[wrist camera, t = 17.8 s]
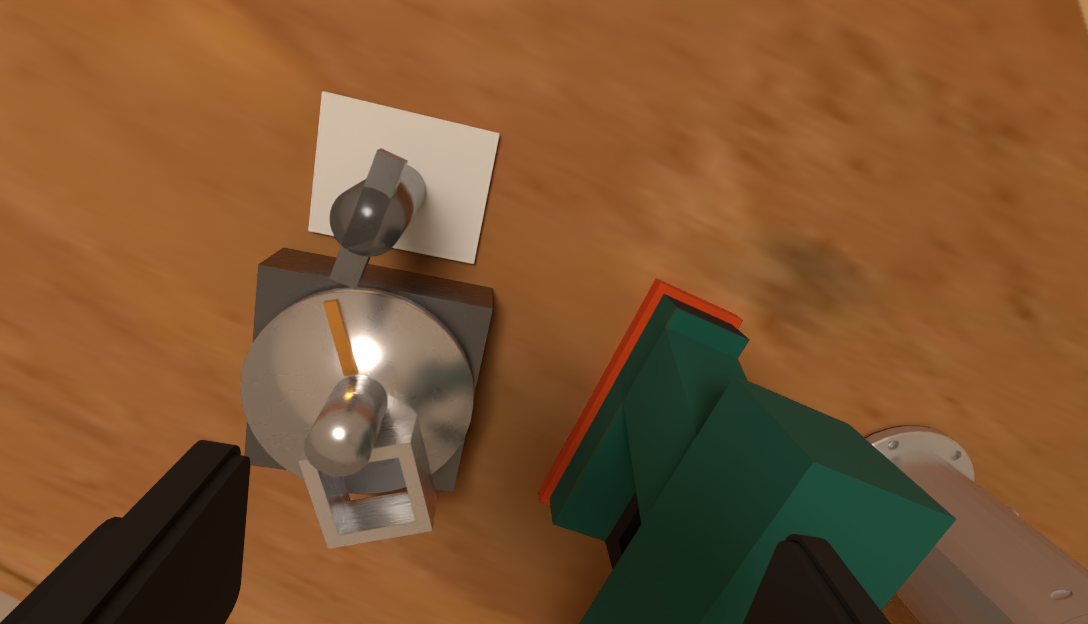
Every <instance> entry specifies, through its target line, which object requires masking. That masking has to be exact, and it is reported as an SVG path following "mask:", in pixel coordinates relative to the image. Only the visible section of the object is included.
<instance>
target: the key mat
mask: <svg viewBox="0 0 1088 624" xmlns="http://www.w3.org/2000/svg"><path fill="white" fill-rule="evenodd" d="M499 134H500V133H496V132H492V131H488V130H484V129H480V128H476V127H471V126H467V125H463V124H459V123H455V122H450V121H446V120H442V119H438V118H434V117H430V116H425V115H421V114H417V113H413V112H409V111H405V110H400V109H396V108H392V107H388V106H384V105H379V104H375V103H371V102H367V101H363V100H359V99H354V98H350V97H346V96H342V95H338V94H334V93H329V92H325V91H322V98H321V108H320V118H319V128H318V139H317V149H316V159H315V169H314V179H313V189H312V199H311V209H310V219H309V229H308V231H311V232H316V233H321V234H326V235H331V236H334V235H333V232H332V230H331V227H330V211H331V207H332V205H333V203H334V201H335V200H336V199H337V197H338V196H339V195H340V194H342V193H343V192H345V191H346V190H348V189H350V188H351V187H353V186H355V185H356V184H358V183H360V182H361V181H363V180H365V179H366V178H367V176H368V173H369V170H370V168H371V165H372V162H373V160H374V157H375V154H376V152H377V150H378V149H381V148H382V149H384V150H386V151H389V152H391V153H393V154H395V155H397V156H399V157H402V158H404V159H406V160H408V163H407V165H409V166H411V167H413V168H414V169H416V170H417V171H418V172H419V173H420V175H421V176H422V178H423V180H424V182H425V185H426V197H425V200H424V202H423V204H422V205H421V207H420V208H419V210H418V211H417V213H416V214H415V216H414V217H413V219H412V220H411V222H410V223H409V225H408V226H407V228H406V229H405V231H404V232H403V234H402V235H401V237H400V238H399V240H398V241H397V243H396V244H395V245H394V246H393V247H392V248H396V249H401V250H406V251H411V252H416V253H421V254H426V255H431V256H436V257H441V258H446V259H451V260H456V261H461V262H466V263H471V264H474V260H475V255H476V250H477V245H478V240H479V235H480V230H481V225H482V220H483V215H484V210H485V205H486V200H487V195H488V190H489V185H490V180H491V175H492V170H493V165H494V159H495V154H496V149H497V144H498V139H499Z"/></svg>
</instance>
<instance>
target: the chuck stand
mask: <svg viewBox="0 0 1088 624" xmlns="http://www.w3.org/2000/svg"><path fill="white" fill-rule="evenodd" d="M336 259H337V258H335V257H329V256H324V255H319V254H314V253H309V252H304V251H298V250H293V249H288V248H282V249H281V250H279V251H278V252H276V253H275V254H273V255H272V256H270V257H269V258H267V259H266V260H264V261H263V262H261V263H260V264H258V276H257V290H256V304H255V318H254V332H253V342H254V340H255V339H256V338H257V336H258V335H259V334H260V332H261V331H262V330H263V329H264V328H265V327H266V326H267V325H268V324H269V323H270V322H271V321H272V320H273V319H274V318H275V317H276V316H277V315H278V314H279V313H280V312H282V311H283V310H284V309H286V308H287V307H289V306H290V305H291V304H293V303H295V302H297V301H299V300H301V299H303V298H305V297H307V296H310V295H313V294H315V293H318V292H322V291H327V290H331V289H337V288H348V287H349V286H347V285H344V284H342V283H339V282H337V281H334V280H332V279H329V277H330V275H331V272H332V269H333V267H334V264H335V261H336ZM357 288H370V289H377V290H383V291H386V292H390V293H393V294H397V295H399V296H402V297H404V298H407V299H409V300H411V301H413V302H415V303H417V304H418V305H420V306H422V307H424V308H425V309H427V310H428V311H429V312H431V313H432V314H433V315H435V316H436V317H437V318H438V319H439V320H440V321H442V322H443V323H444V324H445V325H446V326H447V327H448V329H449V330H450V331H451V332H452V333H453V335H454V336H455V337H456V339H457V340H458V342H459V344H460V345H461V347H462V348H463V350H464V353H465V355H466V357H467V359H468V362H469V365H470V369H471V373H472V378H473V386H474V391H473V399H474V394H475V390H476V385H477V380H478V376H479V371H480V366H481V362H482V357H483V352H484V348H485V343H486V338H487V334H488V329H489V324H490V320H491V315H492V310H493V288H489V287H484V286H479V285H474V284H468V283H463V282H458V281H453V280H448V279H443V278H438V277H432V276H427V275H422V274H417V273H412V272H407V271H402V270H396V269H391V268H386V267H381V266H376V265H371V264H368V265H367V267H366V270H365V272H364V275H363V278H362V280H361V283H360V284H359V285H358V287H357ZM465 436H466V435H465ZM464 441H465V437H464V439H463V441H462V443H461V444H460V446H459V447H458V449H457V450H456V451H455V453H454V454H453V455H452V456H451V458H450V459H449V460H448V461H447V462H446V463H445V464H444V465H443V466H441V467H440V468H439V469H438V470H437V471H435V472H434V473H432V478H433V482H434V486H435V490H440V491H448V492H454V487H455V483H456V478H457V473H458V469H459V464H460V459H461V455H462V450H463V445H464ZM245 456H248V457H249V458H250V465H253V466H261V467H268V468H276V469H283V470H287V469H285V468H284V467H283V466H281V465H280V464H279V463H278V462H276V461H275V460H274V459H273V458H272V457H271V456H270V455H269V454H268V453H267V452H266V450H265V449H264V448H263V447H262V446H261V444H260V443H259V442H258V440H257V438H256V437H255V435H254V434H253V432H252V430H251V428H250V426H249V424H248V421H247V429H246V443H245Z"/></svg>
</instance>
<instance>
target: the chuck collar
mask: <svg viewBox="0 0 1088 624" xmlns="http://www.w3.org/2000/svg"><path fill="white" fill-rule="evenodd" d="M473 391H474V386H473V378H472V373H471V369H470V365H469V362H468V359H467V357H466V355H465V353H464V350H463V348H462V347H461V345H460V344H459V342H458V340H457V339H456V337H455V336H454V335H453V333H452V332H451V331H450V330H449V329H448V327H447V326H446V325H445V324H444V323H443V322H442V321H440V320H439V319H438V318H437V317H436V316H435V315H433V314H432V313H431V312H429V311H428V310H427V309H425V308H424V307H422V306H420V305H418V304H417V303H415V302H413V301H411V300H409V299H407V298H404V297H402V296H399V295H397V294H393V293H390V292H386V291H383V290H377V289H370V288H356V289H354V288H352V287H348V288H337V289H331V290H327V291H322V292H318V293H315V294H313V295H310V296H307V297H305V298H303V299H301V300H299V301H297V302H295V303H293V304H291V305H290V306H289V307H287V308H286V309H284V310H283V311H282V312H280V313H279V314H278V315H277V316H276V317H275V318H274V319H273V320H272V321H271V322H270V323H269V324H268V325H267V326H266V327H265V328H264V329H263V330H262V331H261V332H260V334H259V335H258V336H257V338H256V339H255V340H254V342H253V344H252V346H251V348H250V350H249V351H248V354H247V356H246V359H245V362H244V365H243V370H242V376H241V398H242V406H243V409H244V413H245V416H246V419H247V421H248V424H249V426H250V428H251V430H252V432H253V434H254V435H255V437H256V438H257V440H258V442H259V443H260V444H261V446H262V447H263V448H264V449H265V450H266V452H267V453H268V454H269V455H270V456H271V457H272V458H273V459H274V460H275V461H276V462H278V463H279V464H280V465H281V466H283V467H284V468H285V469H287V470H288V471H289V472H291V473H293V474H294V475H296V476H298V477H300V478H301V479H303V480H305V482H306V485H307V488H308V491H309V494H310V497H311V500H312V503H313V506H314V509H315V512H316V515H317V517H318V520H319V523H320V526H321V529H322V532H323V535H324V538H325V541H326V544H327V547H328V549H329V548H335V547H341V546H347V545H353V544H359V543H364V542H370V541H376V540H382V539H388V538H394V537H400V536H405V535H411V534H417V533H423V532H429V531H433V524H434V517H435V509H436V502H437V494H436V490H435V486H434V482H433V478H432V473H434V472H435V471H437V470H438V469H439V468H440V467H441V466H443V465H444V464H445V463H446V462H447V461H448V460H449V459H450V458H451V456H452V455H453V454H454V453H455V451H456V450H457V449H458V447H459V446H460V444H461V443H462V441H463V439H464V437H465V435H466V433H467V430H468V427H469V424H470V421H471V415H472V410H473ZM404 487H407V491H406V492H400V493H394V494H388V495H382V496H376V497H370V498H364V499H358V500H352V501H351V500H350V497H349V493H355V494H373V493H382V492H388V491H393V490H397V489H401V488H404Z"/></svg>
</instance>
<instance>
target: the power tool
mask: <svg viewBox="0 0 1088 624" xmlns="http://www.w3.org/2000/svg"><path fill="white" fill-rule="evenodd" d="M742 321H743V320H742V319H741V318H739V317H738V316H737V315H735V314H733V313H731V312H729V311H727V310H724V309H722V308H720V307H718V306H716V305H713V304H711V303H709V302H707V301H705V300H702V299H700V298H698V297H696V296H694V295H692V294H689V293H687V292H685V291H683V290H681V289H678V288H676V287H674V286H672V285H670V284H667V283H665V282H663V281H661V280H659V279H655V281H654V283H653V285H652V286H651V288H650V290H649V292H648V294H647V296H646V297H645V299H644V301H643V303H642V305H641V307H640V308H639V310H638V312H637V314H636V316H635V317H634V319H633V321H632V323H631V325H630V327H629V328H628V330H627V332H626V334H625V336H624V338H623V339H622V341H621V343H620V345H619V347H618V348H617V350H616V352H615V354H614V356H613V358H612V359H611V361H610V363H609V365H608V367H607V368H606V370H605V372H604V374H603V376H602V378H601V379H600V381H599V383H598V385H597V387H596V389H595V390H594V392H593V394H592V396H591V398H590V399H589V401H588V403H587V405H586V407H585V409H584V410H583V412H582V414H581V416H580V418H579V419H578V421H577V423H576V425H575V427H574V429H573V430H572V432H571V434H570V436H569V438H568V440H567V441H566V443H565V445H564V447H563V449H562V450H561V452H560V454H559V456H558V458H557V460H556V461H555V463H554V465H553V467H552V469H551V470H550V472H549V474H548V476H547V478H546V480H545V481H544V483H543V485H542V487H541V489H540V491H539V492H538V494H539V502H541V503H544V504H547V505H550V507H551V514H552V520H553V524H554V525H557V526H560V527H563V528H566V529H570V530H573V531H576V532H579V533H582V534H585V535H588V536H591V537H594V538H597V539H600V540H603V541H605V543H606V546H607V550H608V554H609V558H610V561H611V565H612V569H613V571H612V572H611V574H610V575H609V577H608V579H607V580H606V582H605V583H604V585H603V587H602V588H601V590H600V591H599V593H598V595H597V596H596V598H595V599H594V601H593V603H592V604H591V606H590V607H589V609H588V611H587V612H586V614H585V615H584V617H583V619H582V620H581V622H580V623H579V624H743V622H744V620H745V618H746V615H747V613H748V611H749V608H750V606H751V604H752V601H753V599H754V597H755V594H756V592H757V590H758V587H759V585H760V583H761V581H762V578H763V576H764V574H765V571H766V569H767V567H768V564H769V562H770V560H771V557H772V555H773V553H774V550H775V548H776V546H777V544H778V543H779V542H780V541H783V540H785V539H786V538H787V537H788V536H789V535H790V534H800V535H806V536H812V537H819V538H823V539H825V540H826V541H827V542H828V543H830V545H831V546H832V547H833V549H834V550H835V551H836V553H837V554H838V555H839V556H840V558H841V559H842V560H843V562H844V563H845V564H846V566H847V567H848V568H849V570H850V571H851V572H852V574H853V575H854V576H855V578H856V579H857V580H858V581H859V583H860V584H861V585H862V587H863V588H864V589H865V591H866V592H867V593H868V595H869V596H870V597H871V599H872V600H873V601H874V603H875V604H876V605H877V606H878V608H879V609H880V610H881V611H882V609H883V608H884V607H885V606H886V604H887V603H888V602H889V601H890V600H891V598H892V597H893V596H894V595H895V594H896V592H897V591H898V590H899V589H900V587H901V586H902V585H903V584H904V583H905V581H906V580H907V579H908V578H909V577H910V575H911V574H912V573H913V572H914V570H915V569H916V568H917V567H918V566H919V564H920V563H921V562H922V561H923V559H924V558H925V557H926V556H927V555H928V553H929V552H930V551H931V550H932V549H933V547H934V546H935V545H936V544H937V542H938V541H939V540H940V539H941V538H942V536H943V535H944V534H945V533H946V532H947V530H948V529H949V528H950V527H951V525H952V524H953V523H954V522H955V521H956V518H955V517H954V516H952V515H951V514H950V513H949V512H948V511H947V510H946V509H945V508H943V507H942V506H941V505H940V504H939V503H938V502H937V501H935V500H934V499H933V498H932V497H931V496H930V495H929V494H927V493H926V492H925V491H924V490H923V489H922V488H921V487H920V486H918V485H917V484H916V483H915V482H914V481H913V480H912V479H910V478H909V477H908V476H907V475H906V474H905V473H904V472H903V471H901V470H900V469H899V468H898V467H897V466H896V465H895V464H893V463H892V462H891V461H890V460H889V459H888V458H887V457H885V456H884V455H883V454H882V453H881V452H880V451H879V450H878V449H876V448H875V447H874V446H873V445H872V444H871V443H870V442H868V441H867V440H866V439H865V438H864V437H863V436H862V435H860V434H859V433H858V432H857V431H856V430H855V429H854V428H853V427H851V426H850V425H849V424H847V423H845V422H842V421H840V420H838V419H835V418H833V417H831V416H828V415H826V414H824V413H821V412H819V411H817V410H814V409H812V408H810V407H807V406H805V405H803V404H800V403H798V402H795V401H793V400H791V399H788V398H786V397H784V396H781V395H779V394H777V393H774V392H772V391H770V390H767V389H765V388H763V387H760V386H758V385H756V384H753V383H751V382H749V381H747V378H746V376H745V374H744V372H743V370H742V367H741V365H740V363H739V361H738V358H739V356H740V354H741V353H742V351H743V350H744V348H745V346H746V345H747V343H748V341H749V339H748V338H747V337H746V336H745V335H743V334H742V333H741V332H740V331H739V330H738V328H739V326H740V324H741V323H742Z"/></svg>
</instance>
